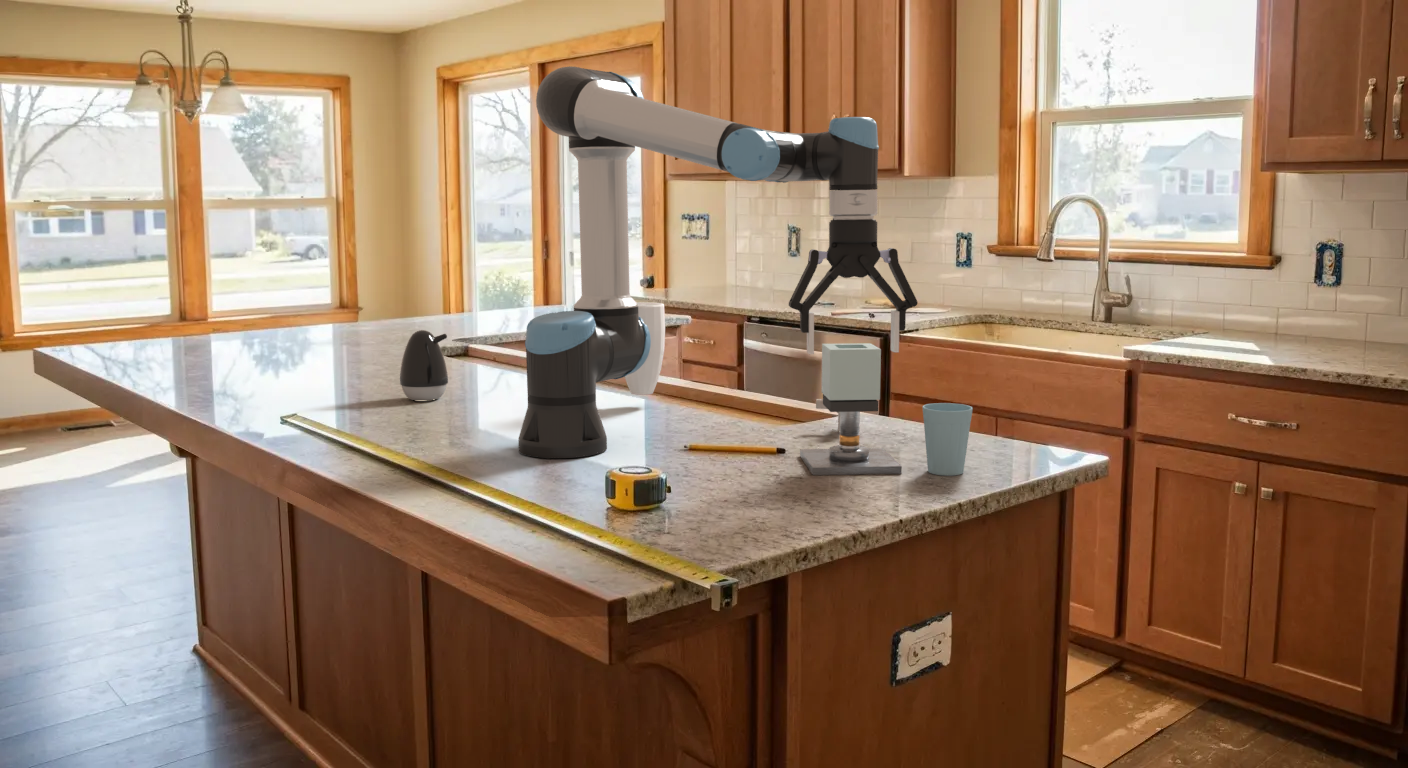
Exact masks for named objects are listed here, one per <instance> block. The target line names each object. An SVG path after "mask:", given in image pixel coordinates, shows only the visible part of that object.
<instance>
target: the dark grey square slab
mask: <svg viewBox="0 0 1408 768" xmlns="http://www.w3.org/2000/svg"><path fill="white" fill-rule="evenodd" d="M822 399H823V405H824V406H825V407H826V408H827V409H826V410H828V411H829V412H830V413H837V412H860V413H861V412H879V400H829V399H828V398H827V397H826V396H825V395H824V394H823V393H822Z"/></svg>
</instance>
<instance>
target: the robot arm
mask: <svg viewBox="0 0 1408 768" xmlns="http://www.w3.org/2000/svg"><path fill="white" fill-rule="evenodd" d="M535 103H536V104H535V105H536V110H537V114H538V116H539V119H540V120H541V121H542V123H543V124H544V126H545V127H546V128H548V130H550V131H551V132H553V133H555V134H557V135H560V136H562V137H563V136H564V137H568V151H569V153H570V154H572V155H573V157H575V158H576V160H577V172H578V174H577V176H578V177H577V178H578V179H577V181H578V207H579V208H578V209H579V212H578V213H579V240H580V241H579V243H580V246H579V247H580V248H579V249H580V279H581V280H580V281H581V283H580V285H581V296H580V298H579V299H578V300H577V301H576V302H575V303H574V304H573V310H564V311H558V312H549V313H545V314H541V315H538V316H535V317H533V318H532V319H531V320H529V322H527V323H528V324H527V325H526V333H525V334H526V335H525V336H526V337H525V343H524V346H525V354H526V356H525V357H526V359H525V360H526V383H527V384H526V387H527V408H526V411H525V414H524V415H525V416H524V417H523V418H524V419H523V422H522V426H521V428H520V432H519V436H518V440H517V441H518V452H519V453H520V454H521V453H522V455H524V456H527V455H528V457H532V458H533V457H534V458H541V459H573V458H585V457H589V456H595V455H598V454H602V453H604V452H605V451H607V449H608V440H607V439H608V438H607V433H606V431H605V428H604V425H603V422H602V418H601V416H600V412H599V410H598V406H597V400H596V399H597V396H596V395H597V386H596V383H600V382H605V381H611V380H619V379H622V378H625V376H627V375H629V374H631V373H633V372H635V371H637V370H638V369H639V368H640V367H641V366H642V365H643V364H644V362H645V361H646V359H647V357H648V355H649V351H650V346H651V337H650V332H649V329H648V327H647V325H645V324H644V321H643V319H642V318H640V317H639V314H638V303H637V301H636V300H635V299H634V298H633V297H632V296H631V294H630V264H629V263H630V257H629V256H630V254H629V253H630V252H629V251H630V250H629V249H630V248H629V247H630V246H629V212H628V211H629V206H628V204H629V203H628V168H627V167H628V166H627V165H628V163H627V162H628V161H627V160H628V159H629V157H630V156H631V155H632V154H633V153H634V152H635V150H636V147H637V148H641V149H644V150H648V151H651V152H655V153H658V154H662V155H665V156H669V157H672V158H673V157H674V158H677V159H680V160H683V161H687V162H691V163H695V164H698V165H702V166H705V167H709V168H711V169H712V168H713V169H716V170H720V171H724V172H727V173H730V174H731V176H734V177H735V178H738V179H741V180H746V181H751V182H756V181H767V182H773V183H774V182H775V183H783V184H785V183H788V182H791V183H792V182H808V181H809V182H812V181H813V182H814V181H828V182H829V183H828V184H829V188H828V190H829V197H828V198H829V203H828V205H829V206H828V207H829V209H828V210H829V212H828V215H829V216H830V217H832V219H831V220H830V221H829V222H828V225H829V226H828V227H829V228H828V229H829V231H828V233H829V234H828V241H829V242H828V248H827V250H826V251H822V250H817V249H814V248H813V249H810V250H809V252H808V260H807V264H806V266H805V268H804V271H803V273H802V275H801V277H800V279H799V281H798V283H797V284H796V287H795V289H794V291H793V293H792V295H791V298H789V301H788V306H789V308H791V309H794V310H796V311H798V313H799V328H800V329H799V330H800V331H801V333H802V334H805V333H806V353H807V354H808V355H815V313H814V312H813V311H810V310H811V309H812V308H813V307H814V305H815V304H816V303H817V301H819V300H820V298H821V297H822V296H823V294H824V293H825V292H826V291H828V288H829V287H830V286H831V284H832V283H834V282H835V280H836V279H838V277H841V278H843V279H848V278H853V277H856V278H865V277H866V276H868V277H869V278H870V279H871V280H872V282H874V284H875V285H876V286H877V288H879V290H880V291H881V292H882V293H883V295H884V296H885V297H887V299H888V300H889V302H891V304H892V305H893V306H894V307H895V309H894V310H893V309H891V310H890V351H891V352H892V353H900V332H904V331H905V329H906V317H907V316H906V311H908V309H911V308H913V307H917V305H918V300H917V298H916V295H915V293H914V292H913V289H912V288H911V285H910V283H909V281H908V279H907V277H906V275H905V273H904V270H903V269H902V267H901V265H900V263H899V255H898V254H899V253H898V250H897V248H893V247H890V248H887V249H883V250H880V249H879V248H878V221H877V219H874V216H877V215H878V173H879V172H878V170H879V169H878V167H879V165H878V164H879V149H880V146H879V138H878V136H879V135H878V124H877V122H876V121H875V119H873V118H871V117H866V116H846V117H836V118H835V117H834V118H832V119H831V120H830V121H829V126H828V131H824V132H812V133H811V132H810V133H809V132H807V133H806V132H804V133H803V132H802V133H798V132H797V133H796V132H795V133H793V132H787V131H785V132H784V131H779V130H778V131H777V130H774V131H773V130H767V129H762V128H758V127H754V126H750V125H746V124H743V123H738V122H734V121H730V120H727V119H723V118H719V117H715V116H711V115H707V114H703V113H700V112H696V111H693V110H687V109H685V108H681V107H678V106H677V107H676V106H673V105H669V104H665V103H661V102H657V101H654V100H650V99H646V98H644V95H643V93H642V91H641V90H640V88H639V87H638V86H637V85H636V84H635V82H634V81H633V80H631V79H629V78H628V77H627V76H624V75H621V74H618V73H616V72H613V71H604V70H596V69H590V68H585V67H584V68H583V67H579V66H563V67H559V68H556V69H555V70H552V71H551V72H550V73H548V74H547V75H546V76H545V77H544V78H543V79H542V81H541V83H540V85H538V89H537V92H536V99H535ZM880 258H881V259H882V260H883V262H884V263H886V264H888V267H889V270H890V272H891V273H892V276H893V278H894V279H895V282H896V283H897V284H896V285H898V288H899V290H900V292H901V295H902V296H903V298H904V300H902V298H901V297H900V296H899V295H898V294H897V293H896V291H895V290H894V289H893V288H892V287H891V285H890V284H889V283H888V282H887V281H886V280H885V278H884V277H883V276H882V275H881V273H880V272H879V270H878V269H877V268H876V267H875V266H876V264H877V262H879V260H880ZM824 259H826V261H828V263H829V264H830V266H831V267H830V268H829V269H828V271H827V272H826V273H825V275H824V277H822V279H821V280H820V281H819V282H818V284H817V285H816V286H815V287H814V288H813V290H812V291H811V292H810V293H809V295H808V296H806V298H805V299H804V301H803V302H801V300H802V299H803V296H804V295H805V293H806V291H807V289H808V286H809V285H810V283H811V280H812V278H813V276H814V274H815V272H816V270H817V267H818V265H821V264H822V263H823V261H824Z"/></svg>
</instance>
